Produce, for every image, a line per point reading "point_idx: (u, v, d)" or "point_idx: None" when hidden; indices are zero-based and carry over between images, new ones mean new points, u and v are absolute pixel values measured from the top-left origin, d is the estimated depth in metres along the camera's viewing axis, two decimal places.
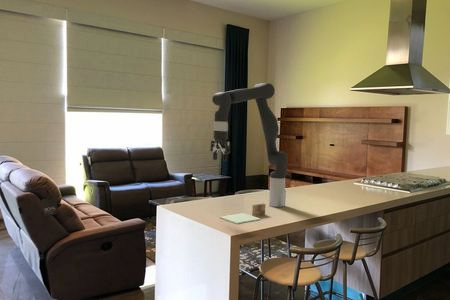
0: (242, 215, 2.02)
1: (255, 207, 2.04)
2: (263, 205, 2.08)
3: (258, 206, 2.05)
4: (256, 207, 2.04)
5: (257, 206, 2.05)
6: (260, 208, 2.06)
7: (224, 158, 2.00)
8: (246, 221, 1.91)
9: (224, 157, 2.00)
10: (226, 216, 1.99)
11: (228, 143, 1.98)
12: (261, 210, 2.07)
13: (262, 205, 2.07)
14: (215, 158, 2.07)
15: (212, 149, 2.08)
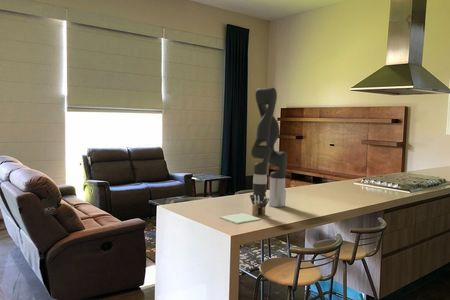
0: (242, 215, 2.02)
1: (255, 207, 2.04)
2: None
3: None
4: (256, 207, 2.04)
5: (257, 206, 2.05)
6: None
7: (259, 212, 2.05)
8: (246, 221, 1.91)
9: (259, 211, 2.05)
10: (226, 216, 1.99)
11: (267, 200, 2.02)
12: None
13: None
14: None
15: None
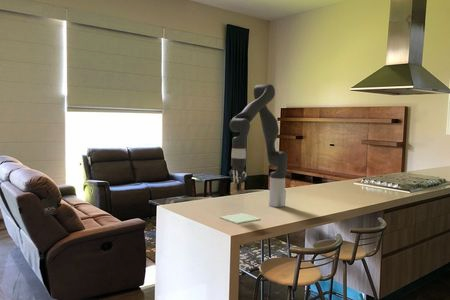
0: (242, 215, 2.02)
1: (233, 185, 1.96)
2: (242, 183, 2.00)
3: (236, 184, 1.97)
4: (234, 185, 1.96)
5: (236, 184, 1.97)
6: None
7: (238, 187, 1.97)
8: (246, 221, 1.91)
9: (238, 186, 1.97)
10: (226, 216, 1.99)
11: (245, 175, 1.94)
12: None
13: (241, 183, 1.99)
14: None
15: None
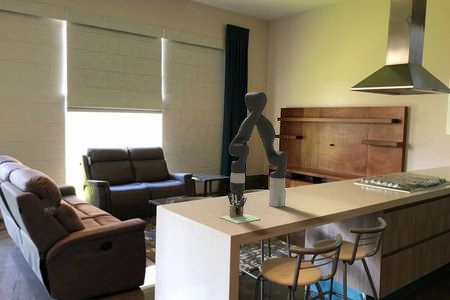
0: None
1: (232, 208, 1.97)
2: None
3: (235, 207, 1.98)
4: (233, 208, 1.97)
5: (235, 207, 1.98)
6: None
7: (237, 212, 1.98)
8: (246, 221, 1.91)
9: (237, 211, 1.98)
10: (226, 216, 1.99)
11: (244, 200, 1.94)
12: None
13: None
14: None
15: (231, 202, 2.01)
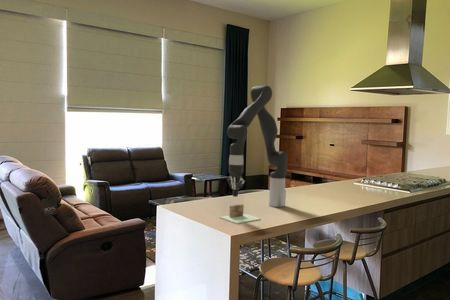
0: None
1: (232, 208, 1.97)
2: (241, 206, 2.00)
3: (235, 207, 1.98)
4: (233, 208, 1.97)
5: (235, 207, 1.98)
6: (238, 209, 1.99)
7: (235, 193, 1.99)
8: (246, 221, 1.91)
9: (235, 192, 1.99)
10: (226, 216, 1.99)
11: (243, 182, 1.96)
12: (239, 211, 2.00)
13: (240, 206, 2.00)
14: None
15: None
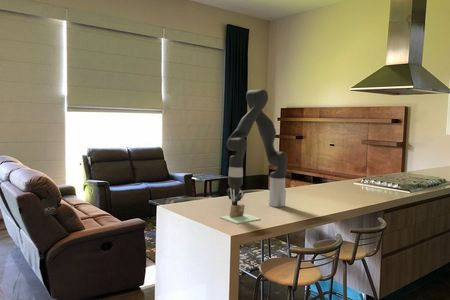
0: None
1: (233, 208, 1.96)
2: (242, 206, 2.00)
3: (237, 207, 1.97)
4: (234, 208, 1.97)
5: (236, 207, 1.97)
6: (238, 209, 1.99)
7: None
8: (246, 221, 1.91)
9: (234, 204, 1.99)
10: (226, 216, 1.99)
11: (242, 194, 1.96)
12: (239, 211, 1.99)
13: (241, 206, 1.99)
14: None
15: None
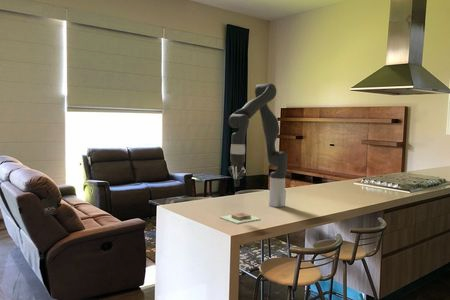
0: None
1: None
2: None
3: None
4: None
5: None
6: None
7: (237, 183, 1.98)
8: (246, 221, 1.91)
9: (237, 182, 1.98)
10: (226, 216, 1.99)
11: (244, 171, 1.94)
12: None
13: None
14: None
15: None
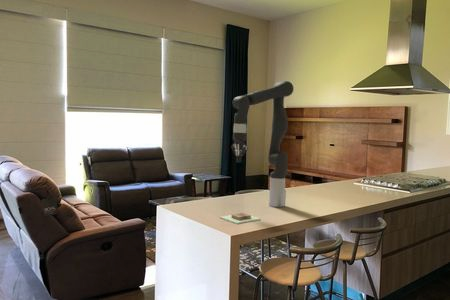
0: None
1: None
2: None
3: None
4: None
5: None
6: None
7: (239, 159, 2.16)
8: (246, 221, 1.91)
9: (239, 158, 2.16)
10: (226, 216, 1.99)
11: (246, 148, 2.13)
12: None
13: None
14: None
15: (235, 152, 2.19)
